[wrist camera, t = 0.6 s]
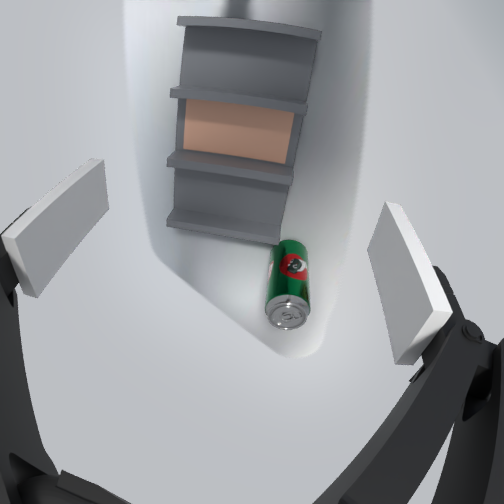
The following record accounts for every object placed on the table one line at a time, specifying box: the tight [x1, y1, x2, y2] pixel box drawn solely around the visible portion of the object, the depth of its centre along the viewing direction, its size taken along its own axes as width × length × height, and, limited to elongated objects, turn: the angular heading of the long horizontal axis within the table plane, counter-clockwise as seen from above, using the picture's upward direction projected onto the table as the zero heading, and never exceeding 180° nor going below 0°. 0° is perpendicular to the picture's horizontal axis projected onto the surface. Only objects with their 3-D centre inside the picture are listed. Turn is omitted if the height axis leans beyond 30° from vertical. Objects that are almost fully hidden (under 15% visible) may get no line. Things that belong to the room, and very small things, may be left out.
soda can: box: [265, 240, 310, 330], centre depth 39 cm, size 5×5×12 cm
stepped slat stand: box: [167, 16, 322, 245], centre depth 33 cm, size 25×14×4 cm, turn 172°
